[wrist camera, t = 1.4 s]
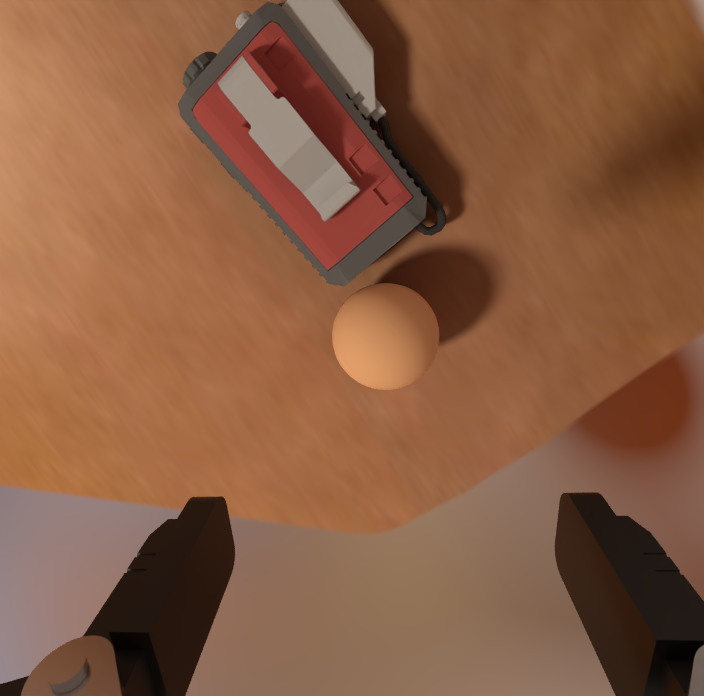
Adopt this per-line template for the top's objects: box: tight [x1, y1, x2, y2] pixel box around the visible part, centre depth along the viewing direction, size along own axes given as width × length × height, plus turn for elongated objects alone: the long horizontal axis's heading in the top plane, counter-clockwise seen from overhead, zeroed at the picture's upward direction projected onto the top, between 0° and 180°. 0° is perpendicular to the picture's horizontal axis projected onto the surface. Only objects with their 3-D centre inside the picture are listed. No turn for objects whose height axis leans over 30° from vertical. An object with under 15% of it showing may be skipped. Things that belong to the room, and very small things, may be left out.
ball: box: [332, 283, 439, 390], centre depth 23 cm, size 6×6×6 cm
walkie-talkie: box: [178, 0, 446, 286], centre depth 20 cm, size 9×4×20 cm
